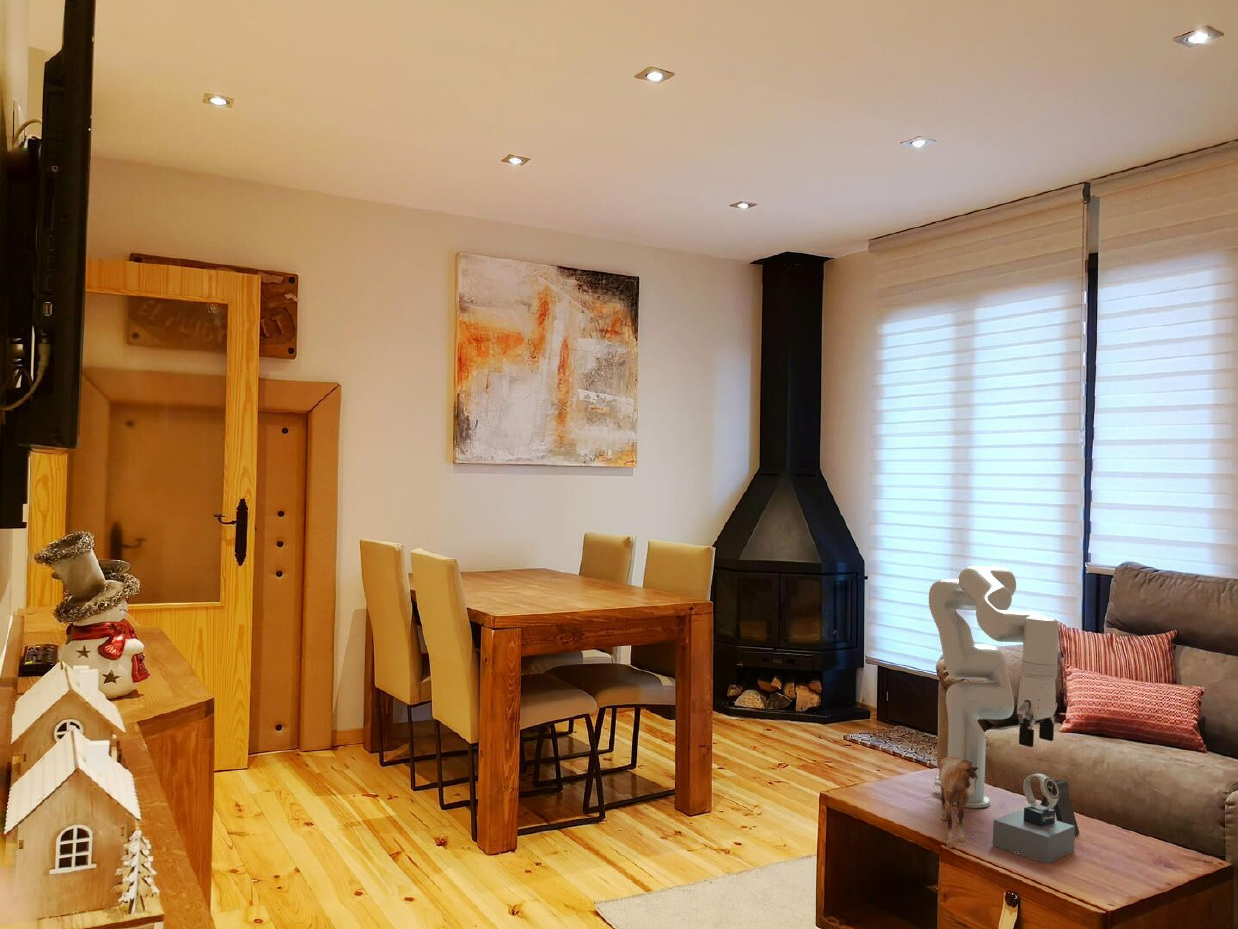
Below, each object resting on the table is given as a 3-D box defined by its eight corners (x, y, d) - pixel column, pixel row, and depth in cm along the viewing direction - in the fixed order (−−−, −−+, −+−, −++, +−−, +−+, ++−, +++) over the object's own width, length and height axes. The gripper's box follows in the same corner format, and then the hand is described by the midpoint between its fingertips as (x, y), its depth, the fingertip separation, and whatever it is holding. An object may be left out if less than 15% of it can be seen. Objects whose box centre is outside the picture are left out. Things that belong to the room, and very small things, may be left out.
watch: (1048, 829, 217) (1049, 781, 217) (1017, 818, 223) (1018, 771, 224) (1062, 826, 220) (1064, 778, 220) (1031, 815, 226) (1033, 769, 227)
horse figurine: (975, 858, 213) (978, 766, 214) (939, 852, 215) (942, 762, 216) (968, 815, 243) (971, 734, 243) (936, 810, 245) (939, 731, 246)
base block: (992, 845, 221) (993, 819, 222) (1019, 834, 230) (1020, 809, 230) (1047, 864, 211) (1048, 837, 212) (1073, 852, 220) (1074, 826, 220)
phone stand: (1079, 834, 232) (1081, 785, 233) (1066, 838, 229) (1068, 788, 229) (1044, 822, 240) (1046, 775, 240) (1031, 826, 236) (1033, 778, 236)
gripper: (1041, 663, 230) (1038, 733, 230) (1005, 670, 219) (1002, 744, 219) (1072, 669, 224) (1069, 741, 224) (1037, 676, 213) (1034, 752, 213)
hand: (1036, 742), depth 222 cm, fingers open, 9 cm apart
